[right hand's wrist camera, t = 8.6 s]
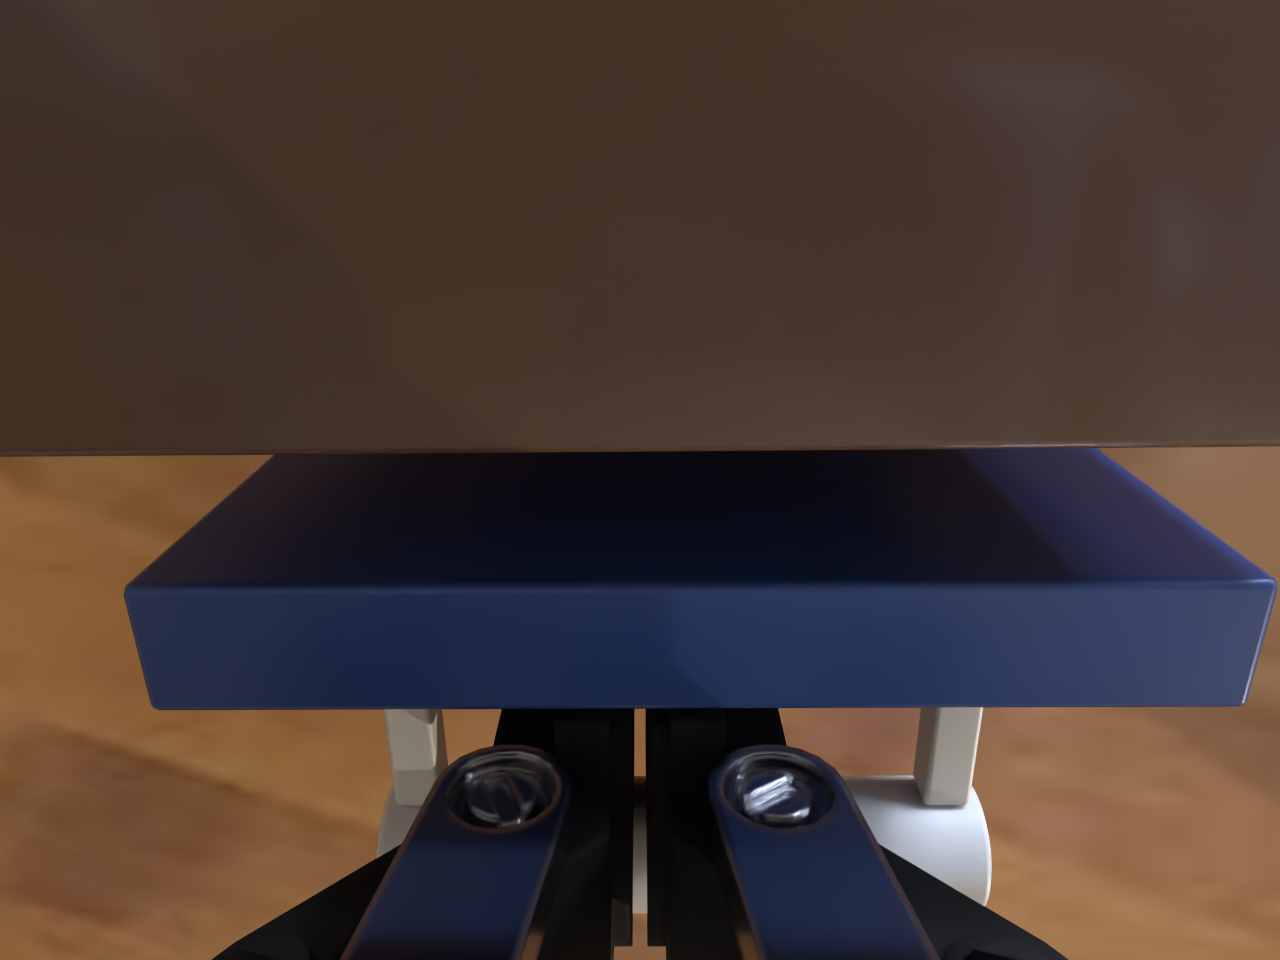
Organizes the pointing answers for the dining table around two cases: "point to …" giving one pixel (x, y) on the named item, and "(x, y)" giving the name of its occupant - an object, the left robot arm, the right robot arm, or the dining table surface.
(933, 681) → the drawer
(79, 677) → the dining table surface
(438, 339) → the cabinet
